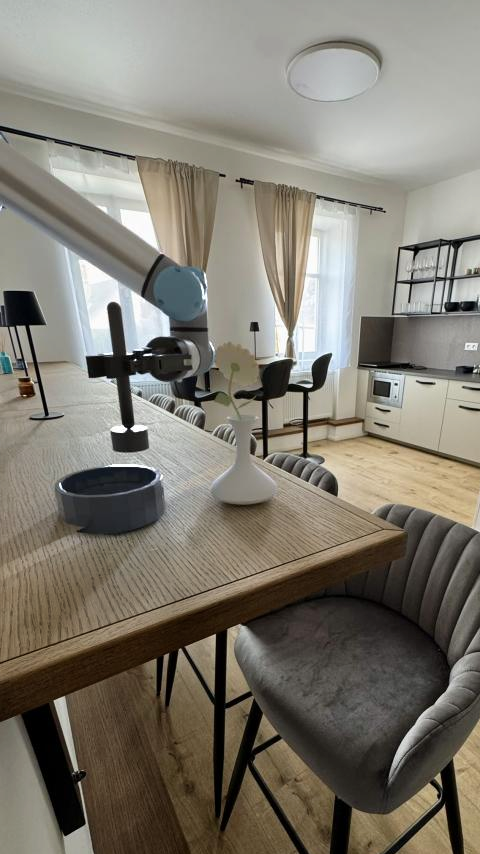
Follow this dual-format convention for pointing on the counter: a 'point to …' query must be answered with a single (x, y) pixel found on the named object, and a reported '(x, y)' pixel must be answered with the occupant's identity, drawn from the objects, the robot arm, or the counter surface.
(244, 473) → the flower in vase
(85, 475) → the bowl
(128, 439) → the rod with disc base
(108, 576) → the counter surface
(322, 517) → the counter surface
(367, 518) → the counter surface
